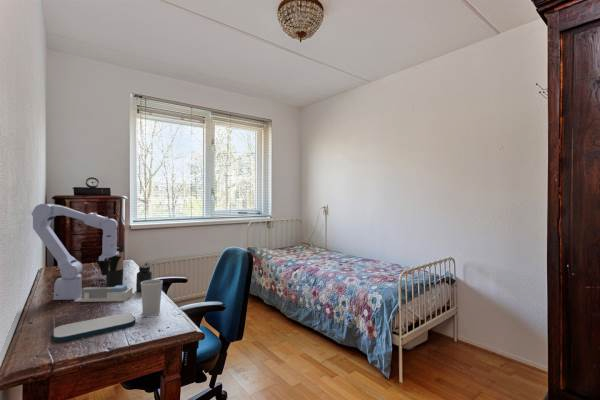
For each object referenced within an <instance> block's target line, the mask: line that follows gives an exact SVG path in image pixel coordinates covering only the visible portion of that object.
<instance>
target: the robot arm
mask: <svg viewBox="0 0 600 400" xmlns="http://www.w3.org/2000/svg"><path fill="white" fill-rule="evenodd" d="M31 216H32V229H33V230H34V231H35V233H36V235H37V236H38V237H39V239H40V240H41V241H42V244H44V245H45V247H46V248H47V249H48V251H49V253H51V255H52V256H53V257H54V259H55V260H56V262H57V268H58V269H59V272H60V273H59V274H60V276H61V277H59V278H57V279H56V280H55V282H54V284H53V292H54V293H53V298H52V300H53V301H58V300H59V301H60V300H62V301H64V300H68V301H70V300H71V301H72V300H76V299H78V298H80V297H81V296H82V278H83V277H82V273H81V272H82V271H83V269H84V265H83V263H82V262H80V261H78V260H77V259H76V258H75V257H74V256H73V255H71V254H70V253H69V252H68V250H67V249H66V247H65V246H64V244H63V242H62V241H61V240H60V239H59V237H58V236H57V234H56V233H55V231H54V230H53V229H52V228H51V223H52V221H53V220H54V219H55V218H56V217H57V216H58V217H59V216H65V217H69V218H71V219H77V220H79V221H83V223H84V224H85V225H86V226H89V227H93V228H96V229H99V230H100V229H101V230H102V243H101V244H102V245H101V246H102V251H101V252H102V253H101V255H99V256H98V259H97V260H96V263H97V264H98V267H99V268H100V272H101V273H100V274H101V275H102V276H106V275H108V270H109V265H110V271H116V268H117V265H118V262H119V260H120V258H121V256H118V255H119V251H117V246H118V243H117V242H118V240H117V239H118V233H117V231H118V229H117V228H118V226H119V224H118V221H117V220H116V219H114V218H111V217H110V218H109V216H102V215H99V214H98V212H89V213H87V214H86V213H85V212H82V211H78V210H76V209H73V208H71V207H67V206H64V205H60V204H56V203H39V204H37V205H36V206H34V207H33V210H32V211H31ZM107 259H108V260H107Z"/></svg>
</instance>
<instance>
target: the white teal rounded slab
mask: <svg viewBox="0 0 600 400" xmlns="http://www.w3.org/2000/svg"><path fill="white" fill-rule="evenodd" d="M135 324H136V318H135V316H134V315H133V314H132V313H130V312H126V313H125V312H123V313H118V314H113V315H107V316H102V317H98V318H92V319H87V320H81V321H77V322H71V323H66V324H62V325H59V326H57V327H55V328H53V329H52V341H53V342H55V343H63V342H68V341H72V340H78V339H83V338H87V337H91V336H95V335H96V336H97V335H100V334H103V333H104V334H105V333H110V332H113V331H119V330H122V329H126V328H127V329H128V328H131V327H133V326H134V325H135Z"/></svg>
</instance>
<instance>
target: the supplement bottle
mask: <svg viewBox="0 0 600 400" xmlns="http://www.w3.org/2000/svg"><path fill="white" fill-rule="evenodd" d="M138 267H139V269H138V272H137V273H136V280H135V281H136V284H135V290H136V291H135V292H137V293H141V282H143V281H146V280H153V273H152V271H151V266H150V265H140V266H138Z"/></svg>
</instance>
